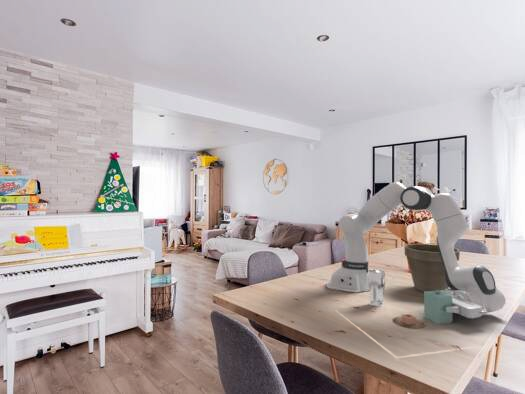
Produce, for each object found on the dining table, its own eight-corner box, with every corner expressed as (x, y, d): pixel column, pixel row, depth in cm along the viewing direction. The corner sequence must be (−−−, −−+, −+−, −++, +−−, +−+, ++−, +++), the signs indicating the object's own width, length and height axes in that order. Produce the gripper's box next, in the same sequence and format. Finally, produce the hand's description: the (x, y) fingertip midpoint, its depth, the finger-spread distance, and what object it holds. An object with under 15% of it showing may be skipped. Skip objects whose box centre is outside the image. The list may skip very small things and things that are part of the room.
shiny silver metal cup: (381, 302, 137) (381, 269, 137) (388, 307, 130) (387, 272, 130) (365, 302, 137) (365, 269, 137) (371, 308, 130) (371, 272, 130)
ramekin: (407, 324, 111) (407, 318, 111) (401, 321, 115) (401, 314, 115) (415, 323, 112) (415, 317, 112) (409, 320, 116) (409, 313, 116)
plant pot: (469, 299, 141) (469, 252, 141) (412, 295, 146) (411, 250, 146) (448, 284, 166) (447, 244, 166) (399, 281, 171) (399, 243, 171)
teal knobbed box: (437, 324, 112) (437, 293, 112) (424, 317, 119) (424, 288, 119) (452, 322, 114) (452, 292, 114) (438, 315, 120) (438, 287, 120)
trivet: (393, 327, 110) (393, 325, 110) (391, 316, 121) (391, 315, 121) (427, 332, 106) (427, 330, 106) (423, 320, 117) (423, 318, 117)
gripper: (491, 321, 109) (459, 324, 106) (444, 302, 129) (416, 304, 126) (491, 303, 109) (459, 306, 106) (444, 287, 129) (416, 289, 126)
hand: (435, 305), depth 116 cm, fingers open, 7 cm apart
